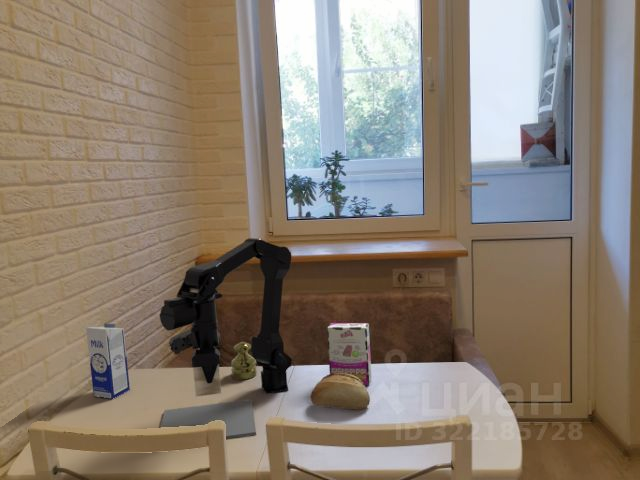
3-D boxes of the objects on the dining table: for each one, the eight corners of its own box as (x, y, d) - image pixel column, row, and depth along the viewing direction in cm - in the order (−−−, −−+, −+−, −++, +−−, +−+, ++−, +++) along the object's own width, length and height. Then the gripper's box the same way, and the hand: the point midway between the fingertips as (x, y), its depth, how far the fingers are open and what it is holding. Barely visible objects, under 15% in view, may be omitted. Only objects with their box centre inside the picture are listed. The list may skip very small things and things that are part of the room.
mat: (251, 401, 138) (251, 399, 138) (256, 434, 120) (256, 432, 120) (164, 412, 134) (164, 410, 134) (156, 448, 116) (156, 445, 116)
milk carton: (93, 396, 146) (85, 326, 143) (111, 387, 152) (104, 319, 149) (113, 399, 143) (105, 328, 141) (130, 389, 149) (123, 321, 147)
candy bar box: (371, 378, 149) (369, 322, 147) (369, 386, 144) (367, 327, 142) (333, 377, 151) (330, 321, 149) (329, 384, 146) (326, 327, 144)
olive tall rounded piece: (261, 371, 158) (259, 339, 157) (249, 381, 151) (247, 347, 150) (239, 369, 161) (236, 338, 159) (227, 379, 154) (224, 346, 152)
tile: (221, 390, 130) (218, 359, 128) (221, 393, 128) (218, 361, 127) (196, 393, 128) (193, 362, 127) (195, 396, 127) (192, 364, 126)
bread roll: (314, 397, 139) (312, 368, 138) (371, 398, 136) (370, 368, 135) (308, 414, 129) (306, 383, 128) (369, 415, 127) (368, 383, 126)
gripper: (173, 312, 134) (178, 371, 136) (165, 334, 115) (172, 402, 117) (217, 308, 136) (222, 366, 138) (217, 329, 117) (222, 395, 119)
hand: (209, 381), depth 128 cm, fingers closed on tile, 2 cm apart
